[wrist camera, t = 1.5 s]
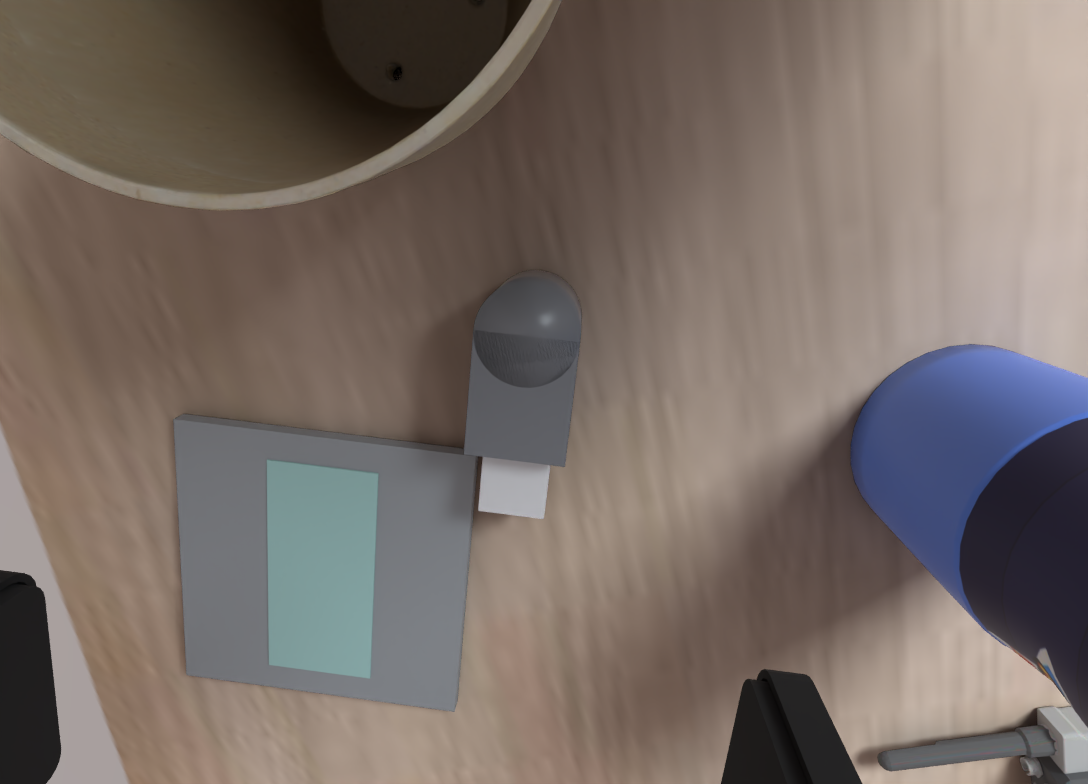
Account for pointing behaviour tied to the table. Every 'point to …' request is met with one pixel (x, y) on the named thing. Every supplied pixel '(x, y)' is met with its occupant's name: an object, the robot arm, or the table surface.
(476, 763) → the table surface
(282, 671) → the dock pad
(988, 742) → the walkie-talkie
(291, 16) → the plant pot
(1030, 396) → the water bottle
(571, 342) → the usb plug
